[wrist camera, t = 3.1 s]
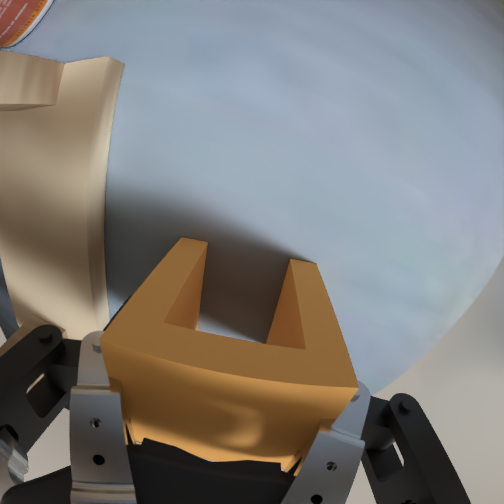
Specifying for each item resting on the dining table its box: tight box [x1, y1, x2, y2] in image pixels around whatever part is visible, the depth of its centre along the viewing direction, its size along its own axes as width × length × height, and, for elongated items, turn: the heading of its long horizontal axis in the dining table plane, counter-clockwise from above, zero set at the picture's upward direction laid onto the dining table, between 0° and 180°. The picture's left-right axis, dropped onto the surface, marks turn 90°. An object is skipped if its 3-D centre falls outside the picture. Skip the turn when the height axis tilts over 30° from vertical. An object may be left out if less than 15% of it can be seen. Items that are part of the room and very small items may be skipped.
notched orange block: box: [99, 237, 359, 468], centre depth 9 cm, size 5×6×7 cm
